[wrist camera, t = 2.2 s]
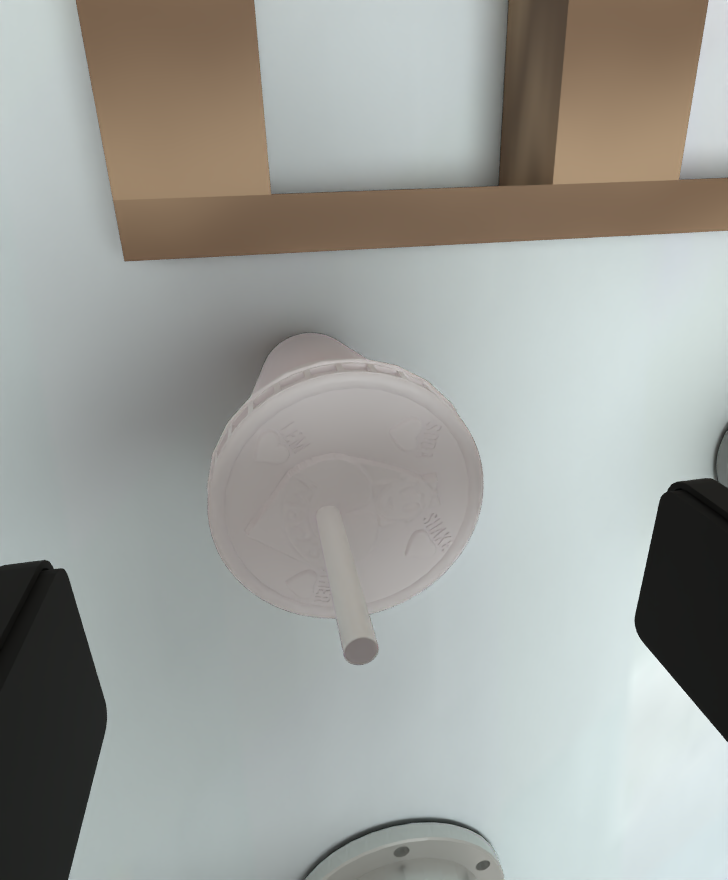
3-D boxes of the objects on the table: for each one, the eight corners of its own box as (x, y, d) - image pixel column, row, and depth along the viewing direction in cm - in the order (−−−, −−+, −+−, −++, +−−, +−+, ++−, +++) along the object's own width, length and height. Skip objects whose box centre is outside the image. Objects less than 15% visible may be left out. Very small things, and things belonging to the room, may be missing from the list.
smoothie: (202, 312, 20) (124, 513, 8) (382, 279, 21) (588, 413, 8) (245, 475, 23) (240, 826, 10) (404, 441, 24) (584, 731, 11)
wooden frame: (876, 213, 23) (991, 216, 20) (148, 248, 19) (124, 261, 16) (982, -149, 19) (1154, -230, 15) (70, -208, 15) (12, -338, 11)
